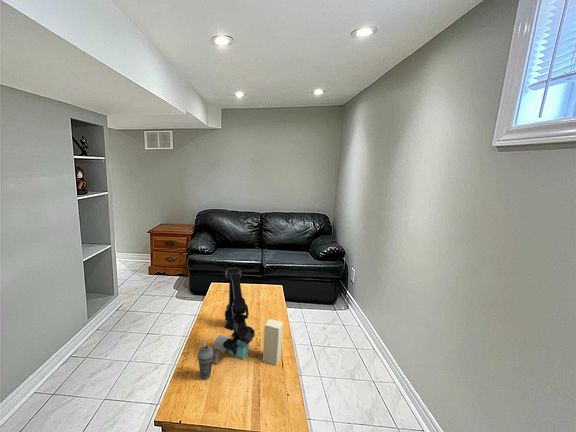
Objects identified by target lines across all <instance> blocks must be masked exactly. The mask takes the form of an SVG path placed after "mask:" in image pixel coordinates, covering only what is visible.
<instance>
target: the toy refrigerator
mask: <svg viewBox="0 0 576 432" xmlns="http://www.w3.org/2000/svg"><path fill="white" fill-rule="evenodd" d="M283 328H284V321H281V320H276V319H272V318H269V319H268V320H267V321H266V322H265V324H264V332H263V333H264V334H263V350H262V351H263V352H262V353H263V354H262V362H264V363H267V364H270V365H273V366H277V365H278V363H279V361H280V360H281V357H282V344H283V333H284V331H283V330H284V329H283Z"/></svg>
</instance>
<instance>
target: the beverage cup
mask: <svg viewBox="0 0 576 432" xmlns="http://www.w3.org/2000/svg"><path fill="white" fill-rule="evenodd" d="M202 339H203V346H202V347H201V348H200V349H199V350H198V353H197V360H198V367H199V375H200V379H201V380H202V381H207V380H209V379H210V378H211V374H212V366H213V364H212V359H213V350H212V348H213V347H211V346H209V345H206V343H205V341H206V340H205V337H202Z"/></svg>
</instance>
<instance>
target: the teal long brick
mask: <svg viewBox="0 0 576 432" xmlns="http://www.w3.org/2000/svg"><path fill="white" fill-rule="evenodd" d="M231 340H233V338H232V339H231ZM237 345H239V346H238V347H237V349H236V355H234V354H233V352H232V351H231V350H228V349H227V353H228V354H231V355H233V356H235V357H236V358H238V359H240V360H244V359H245V358H247V356H248V355H249V353H250V351H249V350H250V343H249V344H246V343H245V342H243V341H240V340H239V341H237Z"/></svg>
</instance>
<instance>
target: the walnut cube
mask: <svg viewBox="0 0 576 432" xmlns="http://www.w3.org/2000/svg"><path fill="white" fill-rule="evenodd" d="M211 348H212V350H213V359H212V365H214V366H217V365H218V363H219V362H220V360H221V359H222V356H221V355H222V353H221V350H218V349H214V347H211Z"/></svg>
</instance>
